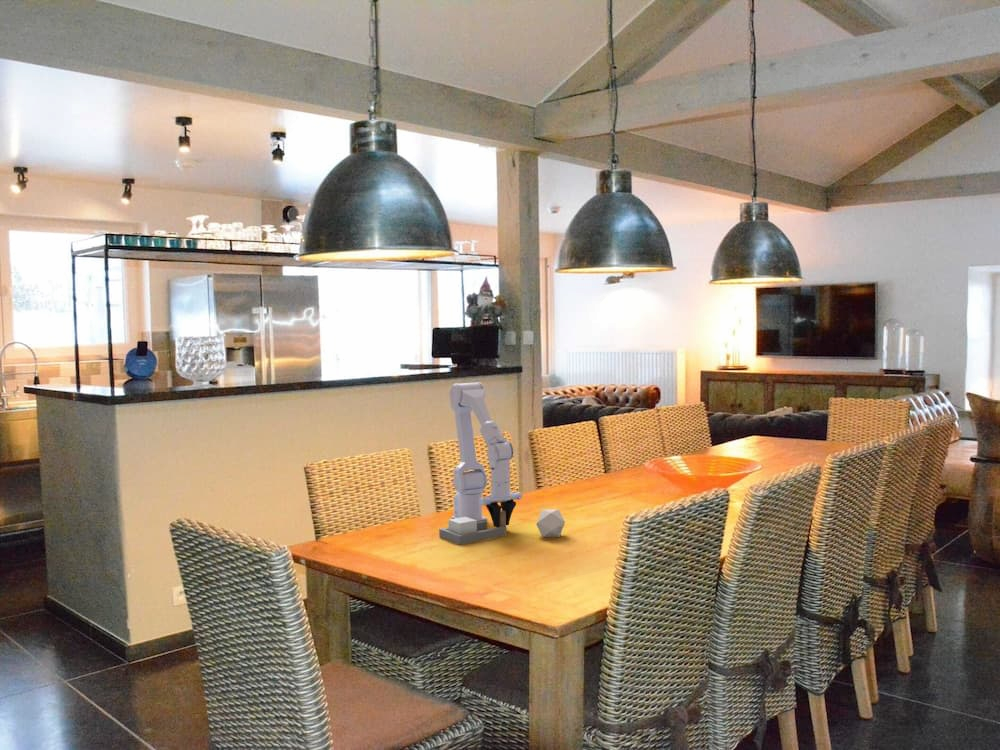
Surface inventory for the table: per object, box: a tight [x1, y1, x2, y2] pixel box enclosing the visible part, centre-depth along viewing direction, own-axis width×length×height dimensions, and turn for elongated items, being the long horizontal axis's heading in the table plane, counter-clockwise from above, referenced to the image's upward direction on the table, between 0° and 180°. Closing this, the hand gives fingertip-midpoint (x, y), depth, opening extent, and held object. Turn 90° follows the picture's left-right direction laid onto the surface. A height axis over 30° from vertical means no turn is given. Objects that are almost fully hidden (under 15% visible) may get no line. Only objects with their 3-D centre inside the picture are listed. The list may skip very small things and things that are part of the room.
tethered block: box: [447, 509, 507, 535], centre depth 260 cm, size 6×18×6 cm, turn 126°
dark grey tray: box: [438, 520, 506, 546], centre depth 259 cm, size 11×16×2 cm
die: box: [536, 508, 566, 538], centre depth 258 cm, size 8×9×10 cm
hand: (501, 525), depth 265 cm, fingers closed on tethered block, 3 cm apart
